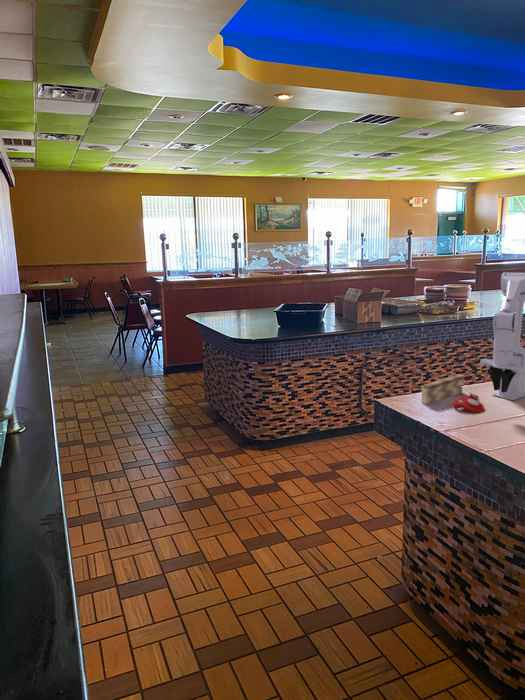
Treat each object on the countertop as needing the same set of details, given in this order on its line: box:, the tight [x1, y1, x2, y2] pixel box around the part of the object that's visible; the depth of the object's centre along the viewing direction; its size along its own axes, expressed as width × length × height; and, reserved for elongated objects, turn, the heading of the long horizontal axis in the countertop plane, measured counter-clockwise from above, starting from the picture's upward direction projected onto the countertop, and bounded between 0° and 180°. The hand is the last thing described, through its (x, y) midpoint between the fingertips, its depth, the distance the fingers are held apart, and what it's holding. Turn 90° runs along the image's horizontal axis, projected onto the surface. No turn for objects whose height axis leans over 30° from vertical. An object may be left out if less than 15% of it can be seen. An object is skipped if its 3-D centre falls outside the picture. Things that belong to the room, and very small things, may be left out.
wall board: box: [421, 373, 466, 405], centre depth 191 cm, size 20×3×7 cm, turn 124°
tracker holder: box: [452, 392, 485, 414], centre depth 181 cm, size 12×4×10 cm
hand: (500, 390), depth 171 cm, fingers closed
